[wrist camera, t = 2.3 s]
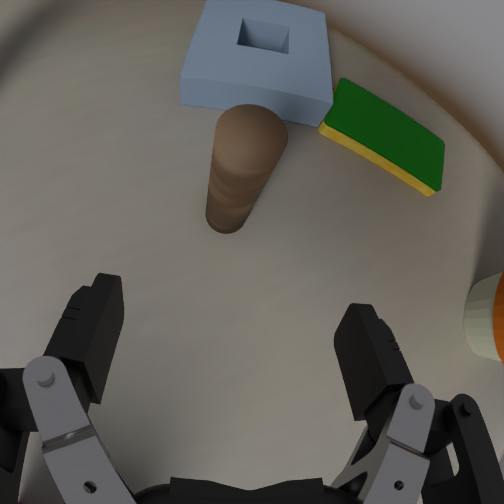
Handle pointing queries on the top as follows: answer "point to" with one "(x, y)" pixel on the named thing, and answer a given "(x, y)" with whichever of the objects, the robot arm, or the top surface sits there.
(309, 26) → the hole block
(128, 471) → the top surface
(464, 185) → the top surface
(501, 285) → the reusable coffee cup
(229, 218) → the walnut peg
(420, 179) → the dish sponge
